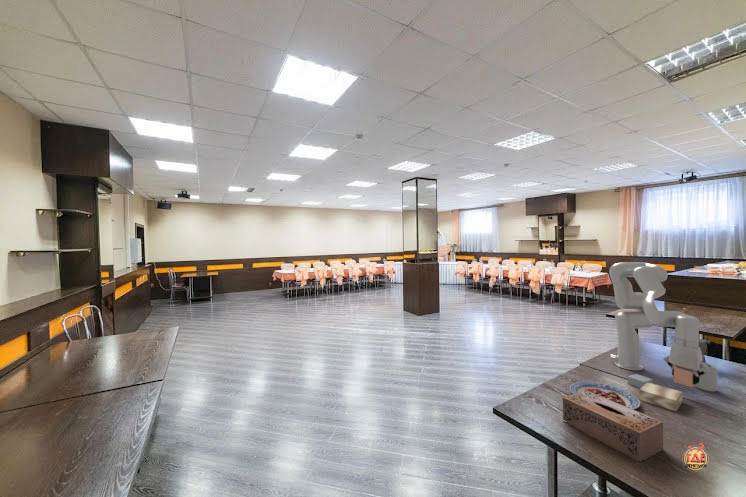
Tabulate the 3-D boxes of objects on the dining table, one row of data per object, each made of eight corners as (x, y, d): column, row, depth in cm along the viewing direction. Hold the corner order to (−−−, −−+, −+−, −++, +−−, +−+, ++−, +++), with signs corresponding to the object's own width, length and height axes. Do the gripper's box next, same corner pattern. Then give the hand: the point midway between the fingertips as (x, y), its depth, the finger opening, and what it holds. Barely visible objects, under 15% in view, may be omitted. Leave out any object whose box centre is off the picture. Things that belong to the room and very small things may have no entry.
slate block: (627, 384, 153) (627, 376, 153) (636, 381, 155) (636, 373, 155) (644, 390, 146) (644, 382, 146) (652, 387, 149) (652, 379, 149)
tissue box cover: (663, 450, 105) (662, 421, 104) (640, 463, 99) (639, 433, 99) (585, 413, 128) (585, 389, 128) (563, 421, 122) (562, 397, 122)
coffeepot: (677, 364, 175) (677, 333, 174) (680, 360, 180) (680, 330, 180) (717, 373, 162) (717, 339, 162) (719, 368, 168) (719, 336, 168)
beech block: (639, 400, 137) (639, 389, 137) (647, 392, 144) (647, 382, 144) (676, 412, 128) (676, 400, 127) (682, 403, 134) (682, 391, 134)
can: (722, 393, 141) (722, 367, 141) (703, 392, 143) (703, 366, 143) (708, 385, 149) (708, 361, 149) (690, 384, 150) (689, 360, 150)
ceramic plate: (641, 397, 140) (641, 391, 140) (639, 422, 121) (638, 414, 121) (575, 381, 157) (575, 375, 157) (564, 400, 139) (564, 394, 139)
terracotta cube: (673, 381, 141) (674, 367, 140) (679, 378, 144) (679, 364, 143) (691, 387, 135) (692, 372, 135) (696, 384, 138) (697, 369, 138)
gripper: (658, 338, 144) (657, 374, 145) (710, 350, 129) (709, 391, 130) (665, 335, 148) (664, 371, 149) (717, 347, 132) (715, 386, 133)
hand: (685, 380), depth 139 cm, fingers closed on terracotta cube, 6 cm apart
